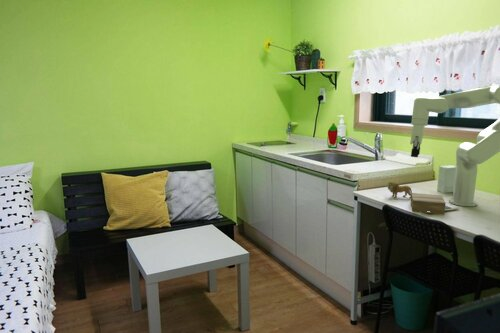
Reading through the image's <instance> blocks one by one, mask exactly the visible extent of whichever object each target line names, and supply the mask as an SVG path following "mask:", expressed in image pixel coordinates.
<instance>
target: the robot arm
mask: <svg viewBox="0 0 500 333" xmlns="http://www.w3.org/2000/svg"><path fill="white" fill-rule="evenodd" d="M491 104H499V105H500V84H499V85H490V86H485V87H479V88H473V89H470V90H469V89H468V90H464V91H459V92H454V93H449V94H443V95H438V96H433V97H426V96H423V97H422V96H417V97H415V98H414V100H413V107H412V108H413V109H412V114H411V122H410V125H411V126H412V130H411V137H410V145H412V148H411V153H410V157H412V158H418V157H419V155H420V152H421V145H422V142H423V138H424V134H425V132H424V131H425V128H426V126H427V127H428V123H429V117H430V112H431V113H436V114H443V113H445V112H447V110H450V109H471V108H475V107H483V106H487V105H491ZM455 152H456V153H455V156H456V157H455V158H456V160H455V161H456V165H455V166H456V173H455V182H454V191H453V192H452V197H451V198H449V199H448V202H449V203H450V204H452V205H456V206H459V207H476V206H477V205H478V203H477V201H476V200H474V199H475V192H476V184H477V176H478V165H481V164H484V163H485V162H487V161H489V160H490V159H491V158H493V157H494V156H495V155H497V154H498V153H500V117H499V118H498V119H497V120H495V121H494V123H492V124H491V125H489V126H488V127H486V128H484V129H483V130H482V131H480V132H479V133H478V135H477V136H476V143H474V142H470V141H464V142H462V143H461V144H459V145H458V146H457V149H456V151H455Z"/></svg>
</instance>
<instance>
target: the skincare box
mask: <svg viewBox="0 0 500 333" xmlns="http://www.w3.org/2000/svg"><path fill="white" fill-rule="evenodd" d="M455 173H456V165H453V164H449V165H448V164H447V165H439V167H438V174H437V175H438V177H437V185H436V186H437V188H436V190H437V192H441V193H443V194H444V193H445V194H447V193H453V191H454V182H455Z"/></svg>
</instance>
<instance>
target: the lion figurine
mask: <svg viewBox="0 0 500 333" xmlns="http://www.w3.org/2000/svg"><path fill="white" fill-rule="evenodd" d="M387 189H388V191H389V192H390V193H392V195H391V197H392V198H394V199H397V197H398V193H400V194H401V193H403V192H404V195H402V197H403V198H405V197H407V196H408V195H409V197H408V198H409V199H410V200H411V193H413V192H412V188H411V187H410V186H409V185H399V184H398V183H396V182H394V181H388V183H387Z"/></svg>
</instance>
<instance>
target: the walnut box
mask: <svg viewBox="0 0 500 333" xmlns="http://www.w3.org/2000/svg"><path fill="white" fill-rule="evenodd" d="M410 193H411V192H410ZM446 205H447V204H446V202H445V199H444V198H443V195H439V194H431V193H430V194H427V193H416V192H412V193H411V199H410V208H411V212H413V213H421V214H427V213H426V212H427V211H430V212H431V213H430V214H432V215H442V216H444V215H445V212H446V210H445V209H446Z"/></svg>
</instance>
